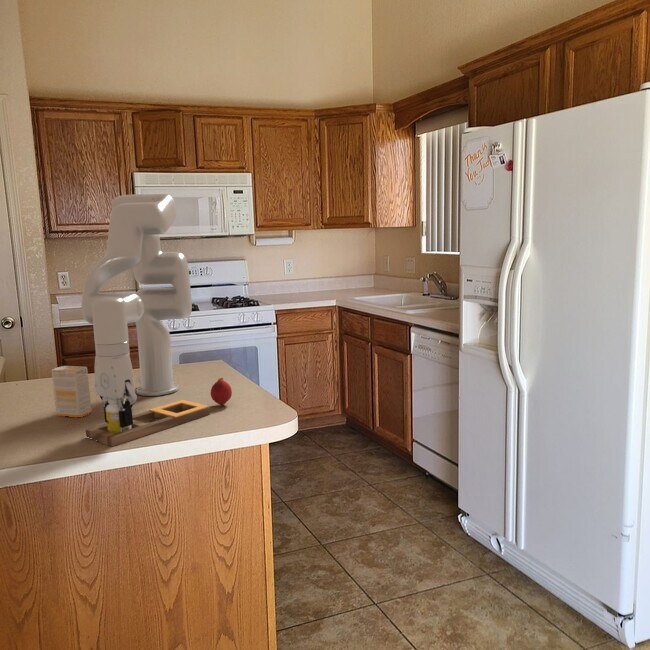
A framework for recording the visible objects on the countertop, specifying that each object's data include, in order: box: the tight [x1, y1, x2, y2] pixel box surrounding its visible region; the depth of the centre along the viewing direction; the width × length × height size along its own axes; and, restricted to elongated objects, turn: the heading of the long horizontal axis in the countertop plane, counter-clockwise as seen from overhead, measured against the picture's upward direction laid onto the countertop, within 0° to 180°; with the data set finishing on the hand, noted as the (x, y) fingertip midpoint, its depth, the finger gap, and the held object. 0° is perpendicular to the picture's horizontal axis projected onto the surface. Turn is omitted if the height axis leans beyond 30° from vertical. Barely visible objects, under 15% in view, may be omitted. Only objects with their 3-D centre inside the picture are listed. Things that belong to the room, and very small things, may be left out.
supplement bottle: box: [106, 395, 131, 434], centre depth 144 cm, size 5×5×10 cm
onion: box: [210, 377, 233, 406], centre depth 166 cm, size 6×6×8 cm
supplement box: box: [51, 365, 92, 418], centre depth 162 cm, size 8×5×13 cm, turn 71°
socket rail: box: [85, 399, 211, 447], centre depth 151 cm, size 11×29×2 cm, turn 142°
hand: (118, 422), depth 144 cm, fingers closed on supplement bottle, 5 cm apart
